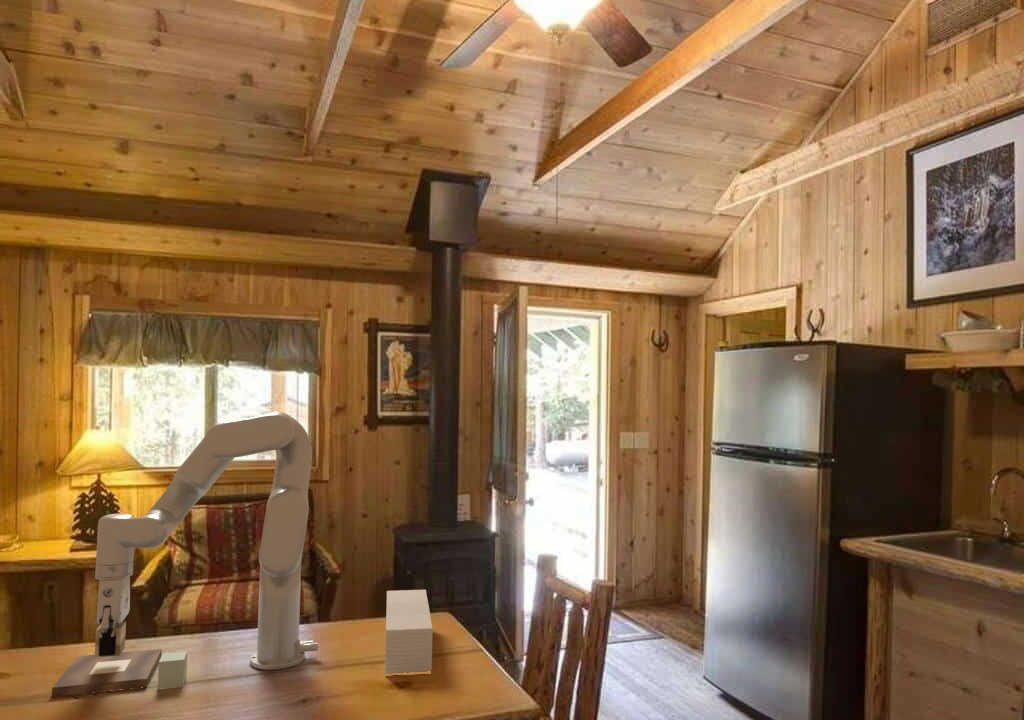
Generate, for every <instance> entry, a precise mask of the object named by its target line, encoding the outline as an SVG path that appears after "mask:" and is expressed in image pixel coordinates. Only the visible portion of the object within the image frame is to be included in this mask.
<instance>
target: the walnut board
mask: <svg viewBox="0 0 1024 720" xmlns="http://www.w3.org/2000/svg"><path fill="white" fill-rule="evenodd" d="M162 650H163V649H162V648H161V649H148V650H138V651H135V650H134V651H124V652H123V651H122V653H121V654H120V656H110V657H96V658H94V656H95V654H90V655H89V654H88V655H77V656H76V657H75V658H74V659H73V661H72V662H71V663H70V664H69V666H68V667H67V668H66V670H64V672H63V673H62V674H61V676H60V677H59V679H57V681H56V682H55V683H54V685H53V686H52V688H51V698H58V697H57V696H60V697H66V696H65V695H70V696H74V695H73V694H80V695H83V694H82V693H90V694H93V693H92V692H100V693H104V692H103V691H110V690H118V689H119V690H120V689H130V688H141V687H147V688H148V686H149V684H150V682H149V681H151V680H150V679H152V678H151V677H153V676H152V675H154V674H155V672H154V671H156V669H157V667H158V666H159V661H160V659H161V656H162V654H163V651H162ZM153 673H154V674H153ZM148 683H149V684H148ZM147 685H148V686H147ZM141 689H142V688H141ZM110 692H111V691H110Z"/></svg>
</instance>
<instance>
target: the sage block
mask: <svg viewBox="0 0 1024 720" xmlns="http://www.w3.org/2000/svg"><path fill="white" fill-rule="evenodd" d="M187 665H188V651H176V652H175V651H174V652H166V653H163V652H162V655H161V659H160V661H159V663H158V673H157V674H158V677H157V690H158V689H160V690H162V689H161V688H170V689H174V688H173V687H180V688H183V687H184V686H185V683H186V680H187V668H188V666H187ZM185 679H186V680H185ZM184 682H185V683H184ZM183 685H184V686H183ZM182 686H183V687H182Z"/></svg>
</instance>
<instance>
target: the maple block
mask: <svg viewBox="0 0 1024 720" xmlns="http://www.w3.org/2000/svg"><path fill="white" fill-rule="evenodd" d="M110 623H113V622H110ZM100 628H101V625H99V626H98V627H97V628H96V629H95V641H94V655H95V656H94V658H96V657H110V656H120V654H121V653H122V652H123V651H124V650H125V649H126V648H125V647H126V633H127V631H126V630H127V621H122V622H121V623H120V624H118V623H117V622H116V628H115V636H116V649H115V654H114V655H108V656H99V638H100V630H101V629H100ZM109 628H111V631H112V625H111V626H109Z"/></svg>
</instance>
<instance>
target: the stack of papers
mask: <svg viewBox="0 0 1024 720" xmlns="http://www.w3.org/2000/svg"><path fill="white" fill-rule="evenodd" d="M385 614H386V616H385V620H386V624H385V659H384V660H385V661H384V662H385V666H384V668H385V670H384V675H385V674H388V673H389V674H391V673H404V672H406V673H409V672H427V671H431V670H433V669H432V668H433V667H432V665H433V631H434V630H433V623H432V617H431V611H430V606H429V601H428V596H427V590H426V589H407V590H406V589H405V590H404V589H400V590H386V613H385Z"/></svg>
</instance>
